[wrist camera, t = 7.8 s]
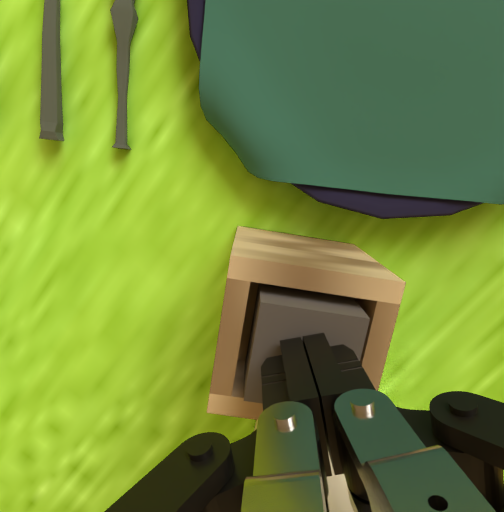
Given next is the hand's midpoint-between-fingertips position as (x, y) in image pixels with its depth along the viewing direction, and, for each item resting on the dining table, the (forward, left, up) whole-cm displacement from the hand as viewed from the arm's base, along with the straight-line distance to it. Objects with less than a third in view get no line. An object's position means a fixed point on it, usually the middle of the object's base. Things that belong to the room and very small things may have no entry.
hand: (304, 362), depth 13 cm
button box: (0, 0, -8) cm, 8 cm away
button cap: (0, 0, -2) cm, 2 cm away
